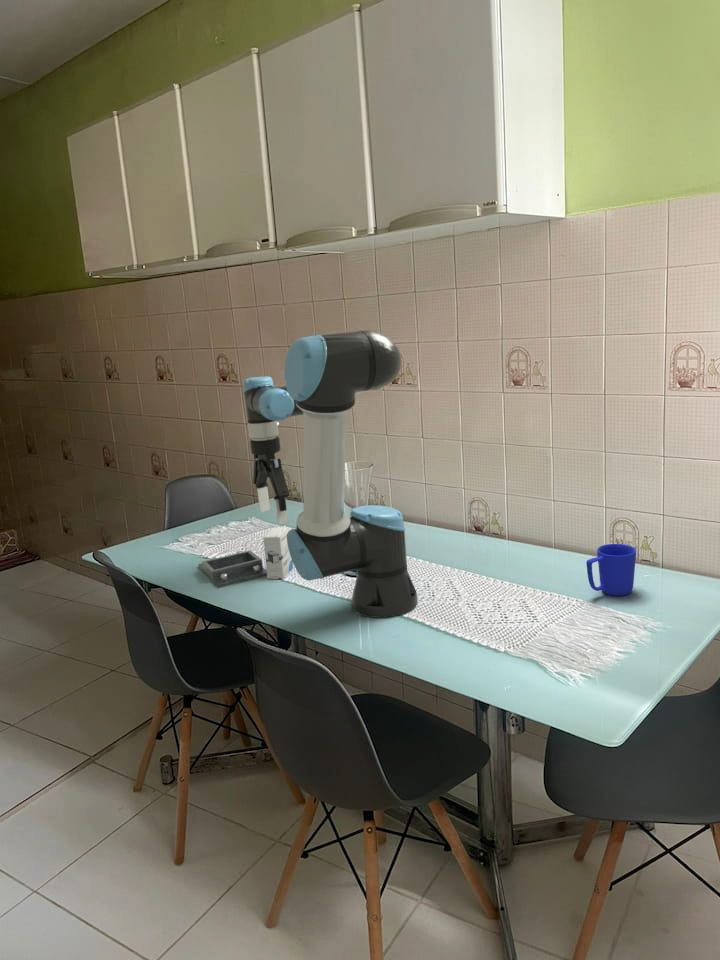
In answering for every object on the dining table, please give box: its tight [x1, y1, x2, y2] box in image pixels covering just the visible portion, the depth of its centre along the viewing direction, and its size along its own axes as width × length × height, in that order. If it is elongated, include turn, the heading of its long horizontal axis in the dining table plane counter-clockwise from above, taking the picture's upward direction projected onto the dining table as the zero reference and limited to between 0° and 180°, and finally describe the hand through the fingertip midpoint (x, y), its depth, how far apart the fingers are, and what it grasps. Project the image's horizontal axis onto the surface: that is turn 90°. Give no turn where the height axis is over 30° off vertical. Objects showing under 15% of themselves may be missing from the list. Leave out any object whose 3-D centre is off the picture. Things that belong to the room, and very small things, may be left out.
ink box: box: [263, 526, 294, 580], centre depth 194 cm, size 9×5×12 cm, turn 168°
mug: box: [586, 543, 637, 597], centre depth 162 cm, size 8×12×10 cm
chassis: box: [197, 549, 267, 589], centre depth 200 cm, size 20×14×3 cm
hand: (273, 516), depth 192 cm, fingers open, 13 cm apart
